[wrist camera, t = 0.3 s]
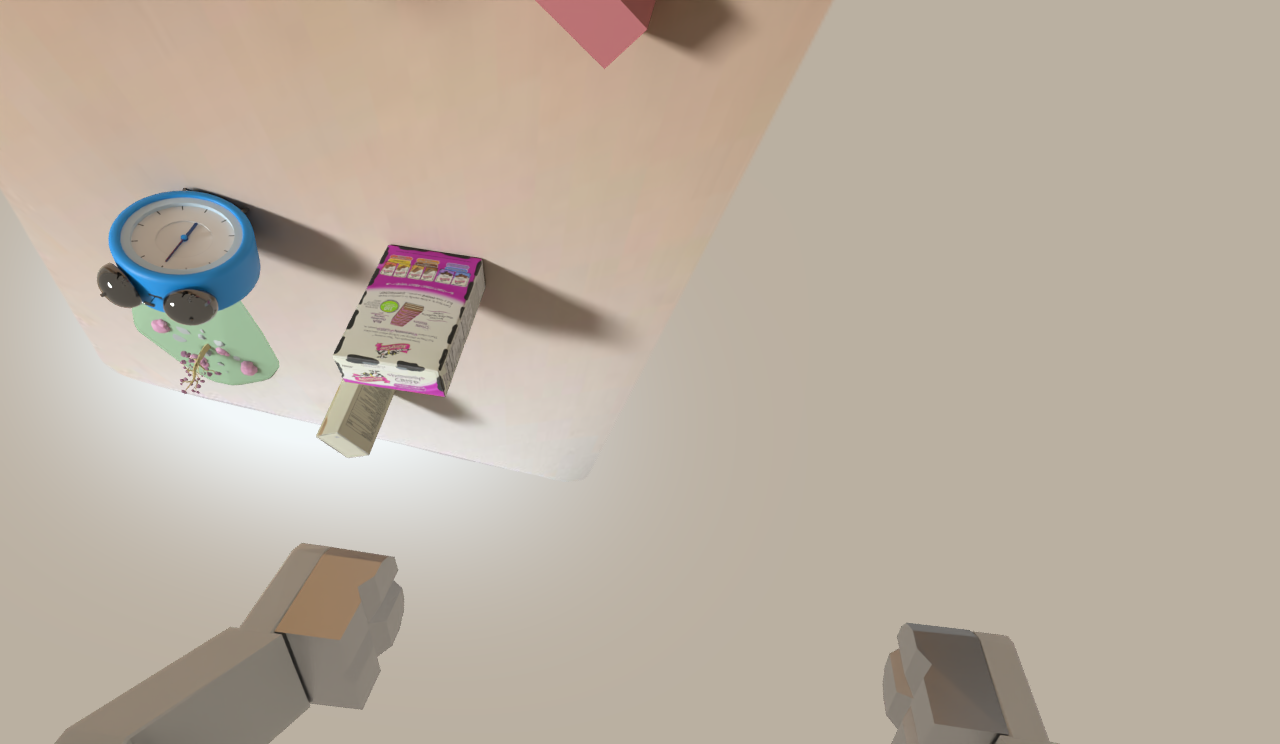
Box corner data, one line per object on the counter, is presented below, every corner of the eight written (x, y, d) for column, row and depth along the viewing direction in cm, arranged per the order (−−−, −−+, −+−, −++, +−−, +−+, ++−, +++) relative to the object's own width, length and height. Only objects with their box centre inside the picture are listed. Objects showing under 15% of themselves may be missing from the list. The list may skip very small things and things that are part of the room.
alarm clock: (275, 211, 79) (206, 310, 70) (282, 248, 84) (218, 345, 75) (153, 172, 77) (65, 269, 68) (166, 213, 82) (87, 308, 73)
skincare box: (348, 363, 101) (312, 435, 94) (370, 358, 99) (335, 431, 92) (379, 389, 106) (346, 459, 98) (400, 385, 104) (369, 456, 97)
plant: (104, 241, 89) (58, 293, 83) (272, 294, 92) (238, 347, 86) (152, 352, 108) (117, 400, 103) (289, 392, 112) (262, 441, 106)
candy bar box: (397, 273, 84) (342, 383, 74) (387, 242, 80) (328, 354, 70) (489, 288, 84) (445, 400, 74) (484, 257, 80) (437, 372, 70)
